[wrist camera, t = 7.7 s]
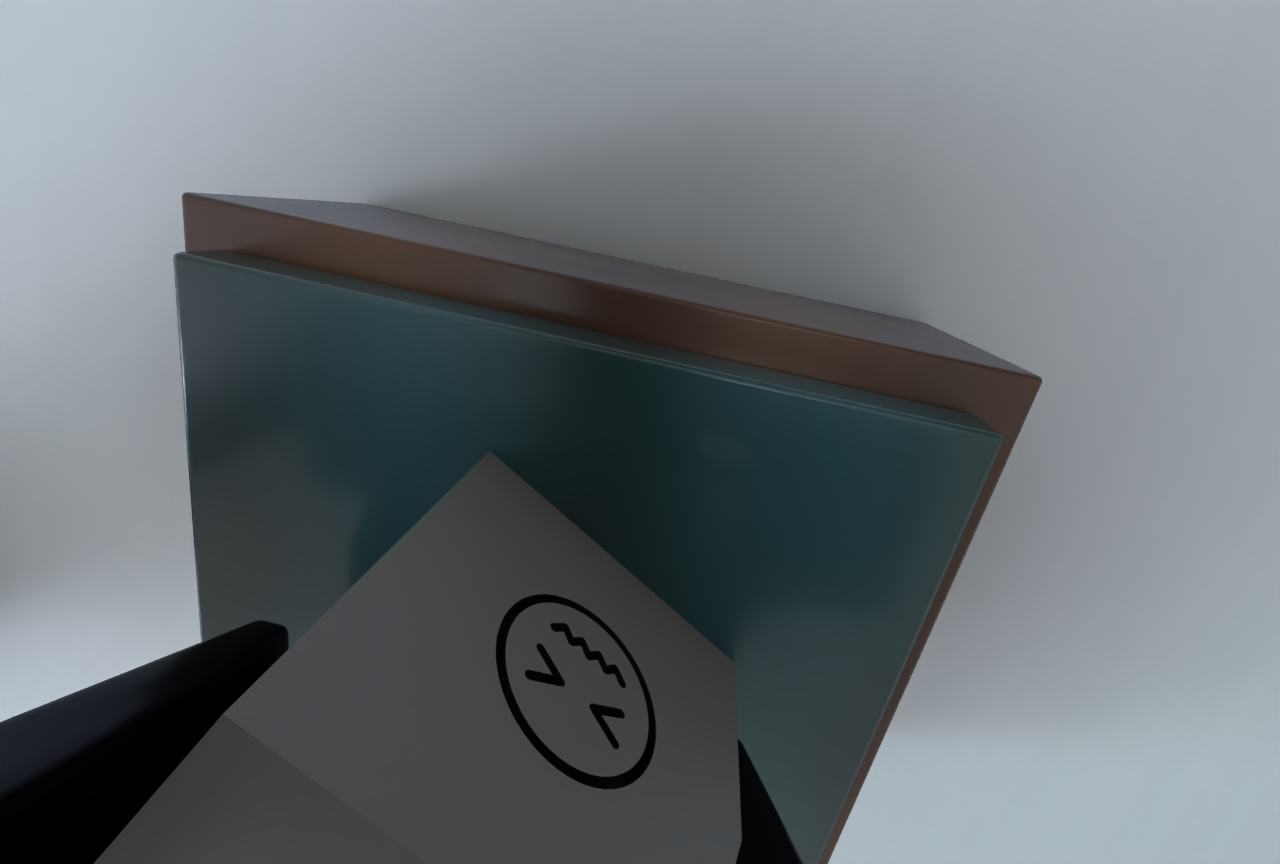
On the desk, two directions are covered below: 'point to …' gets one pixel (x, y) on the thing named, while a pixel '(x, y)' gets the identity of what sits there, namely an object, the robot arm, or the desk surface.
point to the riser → (592, 448)
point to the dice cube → (470, 715)
